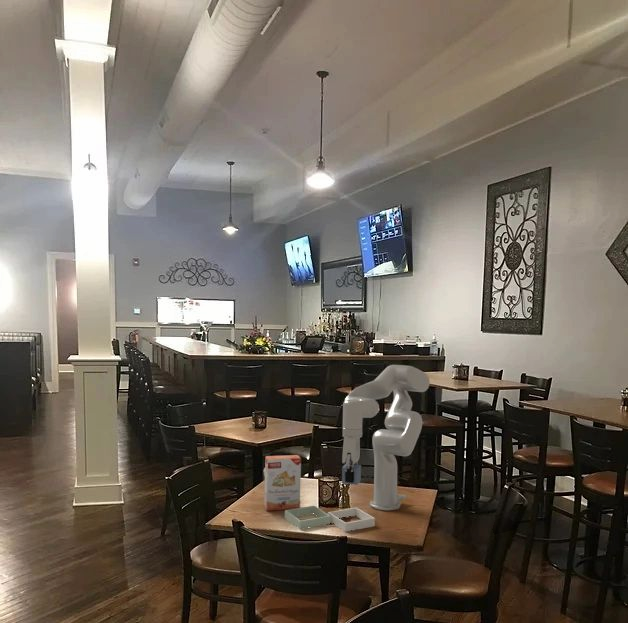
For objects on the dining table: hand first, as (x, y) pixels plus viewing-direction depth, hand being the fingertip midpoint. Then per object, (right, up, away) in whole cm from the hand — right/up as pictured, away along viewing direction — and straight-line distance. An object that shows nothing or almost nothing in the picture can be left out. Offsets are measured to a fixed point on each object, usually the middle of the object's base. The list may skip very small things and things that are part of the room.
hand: (351, 479), depth 210 cm
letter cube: (0, -1, 0) cm, 1 cm away
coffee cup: (-32, -17, +30) cm, 47 cm away
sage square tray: (-17, -16, +1) cm, 23 cm away
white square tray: (0, -17, 0) cm, 17 cm away
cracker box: (-27, -17, +15) cm, 35 cm away
